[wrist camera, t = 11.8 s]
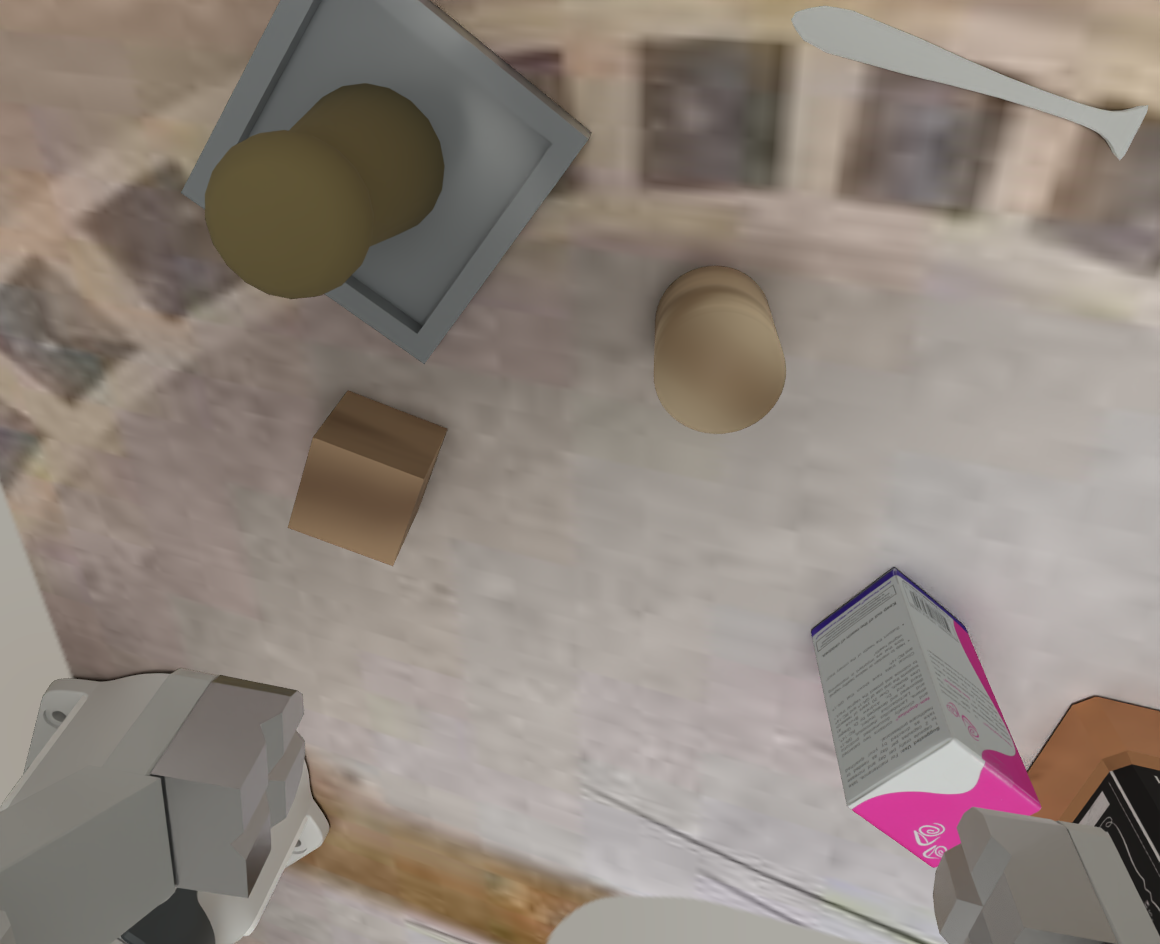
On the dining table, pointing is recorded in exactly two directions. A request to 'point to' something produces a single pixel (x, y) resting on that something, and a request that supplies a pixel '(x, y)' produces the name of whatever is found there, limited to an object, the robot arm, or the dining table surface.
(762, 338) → the cork cylinder
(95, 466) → the dining table surface
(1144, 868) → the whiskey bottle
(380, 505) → the walnut block
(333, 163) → the olive hourglass shape
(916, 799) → the supplement box
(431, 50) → the slate dish
